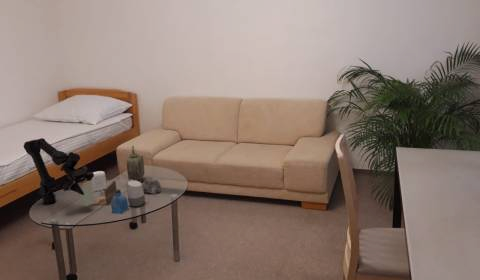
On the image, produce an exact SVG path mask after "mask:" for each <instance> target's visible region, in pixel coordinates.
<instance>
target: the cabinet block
mask: <svg viewBox="0 0 480 280" xmlns="http://www.w3.org/2000/svg"><path fill="white" fill-rule="evenodd" d="M78 186H79V187H80V189H81V190H82V191H83V193H84V195H82V194H79V193H78V198H79V204H80V205H81V206H86V207H87V206H90V205H92V204H93V203H95V201H96V200H95V195H94V193H95V192H93V186H92V181H86V180H85V181H82V182H80V183H78Z"/></svg>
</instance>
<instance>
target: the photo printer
mask: <svg viewBox="0 0 480 280" xmlns="http://www.w3.org/2000/svg"><path fill="white" fill-rule="evenodd" d="M92 173H93V174H94V177H93V178H92V180H91V181H92V186H93V193H95V192H99V191H103V189H105V188H106V187H107V186H108V185H107V180H106V179H107V178H106V174H105V173H106V172H105V171H102V170H100V171H99V170H98V171H94V172H92Z"/></svg>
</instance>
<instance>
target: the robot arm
mask: <svg viewBox="0 0 480 280" xmlns="http://www.w3.org/2000/svg"><path fill="white" fill-rule="evenodd" d="M23 148H24V151H26V153H27V154H28V155H29V156H31V158H32V161H33V163H34V165H35V168H36V170H37V171H36V172H37V173H38V176H39V177H40V181H39V185H40V188H39V189H38V194H39V195H40V196H41V197H42V205H43V204H45V205H50V204H49V203H54V204H55V203H56V201H57V195H56V193H55V192H56V191H57V187H58V184H57V181H56V178H55V177H54V176H51V175H50V173H49V171H48V169H47V167H46V164H45V162H44V159H43V157H42V155H41V150H42V151H44V153H46V154H47V155H48V156H49V157H50V158H51V161H52V162H53V164H55V165H56V166H60V165H61V166H60V172H64V173H65V175H66V176H67V177H66V178H67V179H69V180H67V181H64V184H63V185H62V190H63V191H64V192H66V191H72V192H76V193H78V195H79V194H82V195H84V193H83V191H82V190H81V189H80V187H79V186H78V183H80V182H82V181H85V180H86V181H91V180H92V178H93V177H94V174H93V172H88V171H89V168H88V167H87V166H86V165H84V166H81V168H80V169H79V168H76V166H77V165H78V163H79V162H80V160H81V156H80V155H79V154H78V153H76V152H75V153H74V152H73V151H71V152H68V154H67V153H66V152H64V151H62V150H58V149H56V148H55V147H54V146H53V145H51V144H50V143H49V142H48V141H46V139H45V138H42V137H41V138H37V139H32V140H28V141H25V142H24V143H23Z"/></svg>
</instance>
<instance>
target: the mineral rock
mask: <svg viewBox="0 0 480 280" xmlns="http://www.w3.org/2000/svg"><path fill="white" fill-rule="evenodd" d="M141 184H142V188H143V192H144V193H148V194H153V195H157V194H159V193H161V191H162V186H161V183H160V181H158V179H157V178H153V176H149V177H148V178H146V179H144V180H143V182H141Z"/></svg>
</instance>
